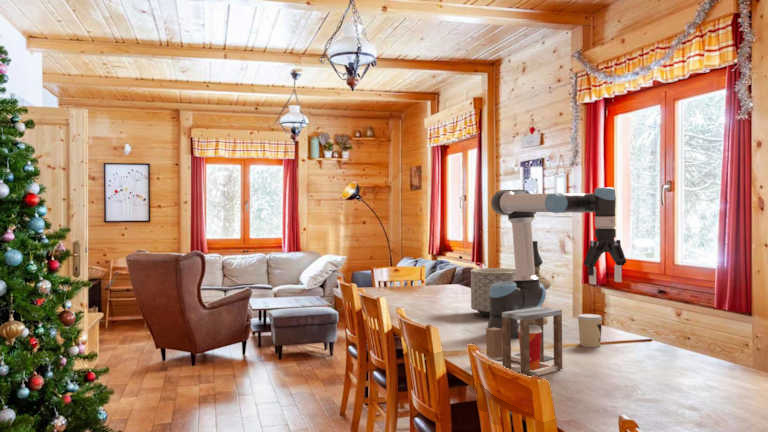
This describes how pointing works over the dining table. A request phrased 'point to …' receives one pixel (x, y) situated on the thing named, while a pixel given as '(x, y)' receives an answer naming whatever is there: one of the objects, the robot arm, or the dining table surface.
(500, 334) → the frame
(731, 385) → the dining table surface
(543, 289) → the robot arm
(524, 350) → the small wooden stool
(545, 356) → the coaster
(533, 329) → the coffee cup
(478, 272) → the planter
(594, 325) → the coffee cup
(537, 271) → the oil lamp
